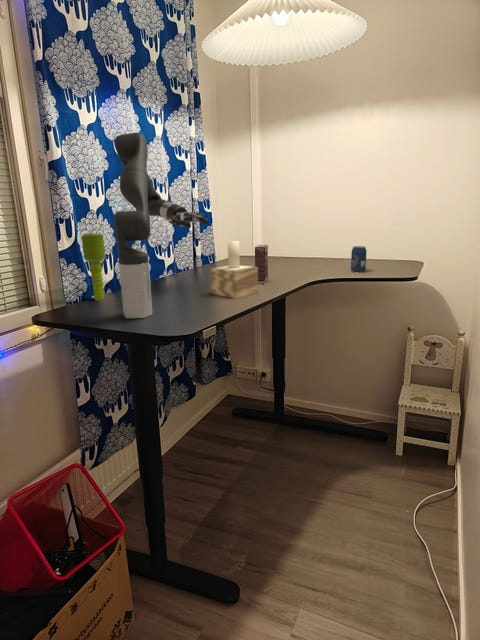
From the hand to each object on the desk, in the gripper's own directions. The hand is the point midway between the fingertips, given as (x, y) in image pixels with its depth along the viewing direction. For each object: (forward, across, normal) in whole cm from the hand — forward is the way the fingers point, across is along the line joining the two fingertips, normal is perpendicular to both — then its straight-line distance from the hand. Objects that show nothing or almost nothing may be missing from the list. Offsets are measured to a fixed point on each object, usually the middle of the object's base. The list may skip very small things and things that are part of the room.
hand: (198, 223), depth 173 cm
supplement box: (+11, +28, +28) cm, 41 cm away
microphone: (-14, -36, +28) cm, 48 cm away
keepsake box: (+18, +4, +24) cm, 30 cm away
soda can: (+31, +76, +27) cm, 86 cm away
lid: (+16, +5, +15) cm, 22 cm away
